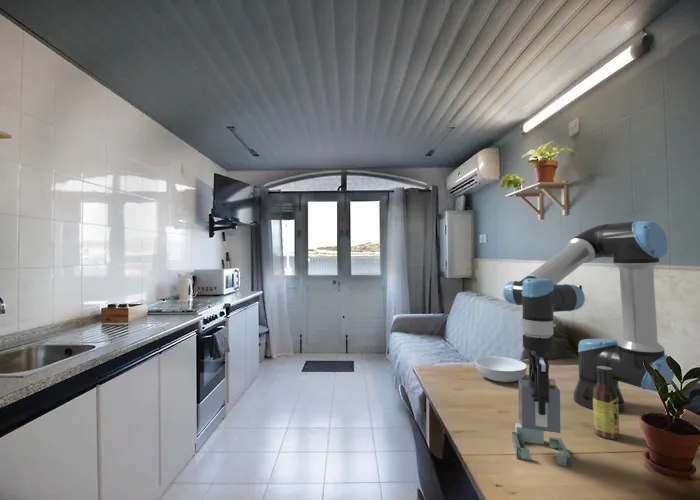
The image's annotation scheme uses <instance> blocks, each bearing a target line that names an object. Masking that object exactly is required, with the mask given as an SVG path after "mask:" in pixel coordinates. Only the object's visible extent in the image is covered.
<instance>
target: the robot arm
mask: <svg viewBox="0 0 700 500" xmlns="http://www.w3.org/2000/svg"><path fill="white" fill-rule="evenodd" d="M565 246H566V247H564V248H563V249H561V250H560V251H559V252H557V253H556V254H555V255H554V256H552V257H550V258H549V259H548V260H547V261H545V262H544V263H543V264H541V265H540V266H539V267H537V268H536V269H535V270H533V271H532V272H531V273H529V274H528V275H527V276H525V277H524V278H522V279H521V280H519V281H517V280H514V281H513V280H512V281H508V282H507V283H506V284H505V285H504V287H503V292H502V293H503V297H504V299H505V301H506V302H508V303H509V304H512V305H517V306H522V319H521V321H522V322H521V323H522V333H524V334H522V347H523V349H525V350H527V351H528V380H531V381H535V387H536V399H533V401H535V425H536V426H541V427H547V403H549V401H550V400H549V378H550V375H549V370H550V365H549V363H548V361H549V360H548V358H547V357H546V353H551V352H554V349H555V348H554V347H555V346H554V344H555V339H554V337H553V335H554V328H556V327H557V326H556V325H557V324H556V323H554V313H558V312H573V311H577V310H579V309H581V308H582V307H583V306H584V304H585V302H586V301H585V300H586V296H585V294H584V291H583V290H582V288H580V287H579V286H578V285H575V284H569V283H568V284H565V283H564V284H559V283H560V282H562V281H563V280H564V279H566V277H568V276H569V275H571V274H572V273H573V272H574V271H575V270H576V269H578V268H579V267H581V266H582V265H583V264H588V263H591V262H592V261H593V260H596V259H600V258H612V260H613V264H614V265H615V266H616V267H617V268H618V269H619V282H620V296H621V297H620V300H621V301H620V302H621V315H622V329H623V332H622V333H623V335H622V336H623V339H622V340H621V341H620V342H618V341H617V340H615V339H609V338H584V339H581V340H580V341H579V342H578V347H577V348H578V349H577V352H578V381H577V384H576V385H575V389H574V391H573V401H574V402H575V403H577V404H578V405H580V406H583V407H584V408H588V409H591V410H593V387H594V386H595V385H596V383H597V382H598V381H597V371H596V367H597V366H606V367H610V368H612V369H613V374H612V381H613V385H614V388H615V390H616V392H617V395H618V407H619V413H621V412H623V411H625V410H626V402H625V400H624V397H623V394H622V392H621V389H620V387H619V382H620V383H624V384H628V385H632V386H634V387H637V388H640V389H643V390H648V391H653V392H657V390H656V388H655V385H654V383H653V381H652V379H651V377H650V375H649V374H648V372H647V371H646V369H645V367H644V365H643V361H645V362H646V363H647V364H649V365H650V366H651V367H652V368H654V369H656V370H658V371H659V373H660V374H661V375H662V376H663V377H664V379H665V380H666V382H667V383H670V381H673V379H674V377H675V376H674V375H675V373H674V374H673V372H672V371H671V369H670V367H669V366H668V365H667V363H666V358H667V357H670V356H669V355H666V354H665V347H664V346H663V345H661V344H660V343H659V342H658V328H657V327H658V326H657V310H656V308H657V307H656V292H655V291H656V290H655V277H654V276H655V275H654V268H655V267H657V266H658V265H659V264H660V258H663V257H664V256H666V255H667V253H668V251H667V250H668V248H669V243H668V237H667V235H666V231H664V229H663V228H662V227H661V225H660V224H658V223H657V222H655V221H651V220H646V221H645V220H643V221H642V220H641V221H639V220H635V221H626V222H618V223H606V224H605V223H604V224H599V225H596V226H593V227H591V228H587V230H585V231H583V232H581V233H579V234H577V235H576V236H574V237H573V238H571V239H570V240H568V241H567V243H566V245H565ZM670 384H671V383H670Z"/></svg>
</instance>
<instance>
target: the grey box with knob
mask: <svg viewBox="0 0 700 500" xmlns="http://www.w3.org/2000/svg"><path fill="white" fill-rule="evenodd" d="M533 399H536V387H535V381H531V380H529V379H523V378H521V379H519V380H518V420H519V422H520V423H519V424H521V426H522V428H527V429H534V430H541V431H544V432H549V433H550V432H551V433H556V434H561V390H560V389H559V387H558V385H557V384H556V380H555V379H554V378H551V377H549V400H550V401H549V403H547V427H541V426H536V425H535V401H533Z"/></svg>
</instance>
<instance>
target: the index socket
mask: <svg viewBox="0 0 700 500" xmlns="http://www.w3.org/2000/svg"><path fill="white" fill-rule="evenodd" d="M511 438H512V439H511V441H512V444H513V448H514V452H515V455H516V459H518V460H523V461H530V456H531V455H530V453H531V452H530V449H529V448H524V447H521V444H523V445H525V442H524V434H523V433H516V432H515V431H514V432H513V431H512V432H511ZM548 447H549V448H550V449H557V450H558V451H559V452H556V464H557V466H561V467H562V466H563V467H569V468H572V456H571V454H570V453H569V450H568V449H567V447H566V445H565V443H564V442H563V440H562V438H559V437H552V436H548Z"/></svg>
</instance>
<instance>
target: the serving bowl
mask: <svg viewBox="0 0 700 500" xmlns="http://www.w3.org/2000/svg"><path fill="white" fill-rule="evenodd" d="M474 363H475V367H476V370H477V371H478V373H479V374H480V375H482V377H484V378H486V379H489V380H490V381H495V382H499V383H511V382H517V381H519V379H523V378H524V377H525V376H526V374H527V370H528V365H527V364H526V363H525V362H523V361H521V360H519V359H516V358H515V359H514V358H510V357H505V356H493V355H490V356H483V357H478V358H476V359H475V361H474Z"/></svg>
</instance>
